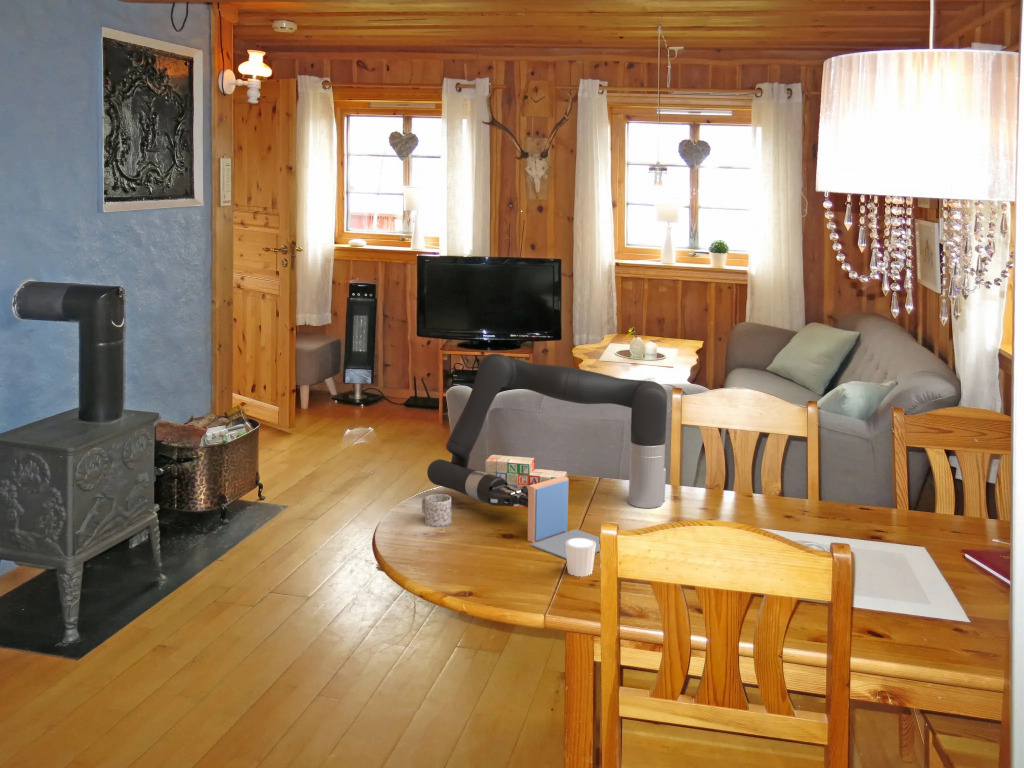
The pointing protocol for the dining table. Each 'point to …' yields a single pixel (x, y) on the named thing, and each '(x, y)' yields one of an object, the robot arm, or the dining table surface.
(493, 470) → the stack of blocks
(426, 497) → the mug
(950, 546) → the dining table surface
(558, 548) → the mat
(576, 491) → the dining table surface
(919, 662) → the dining table surface
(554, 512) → the tile
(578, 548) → the white cup
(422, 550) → the dining table surface
